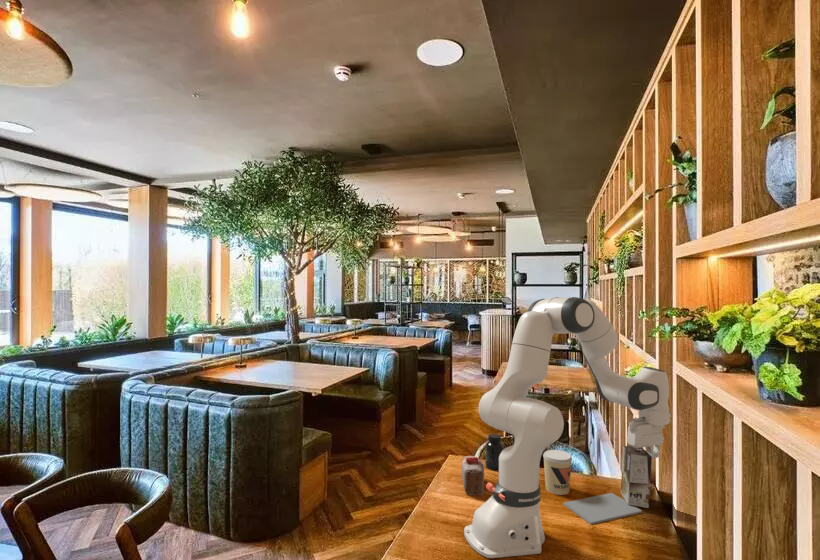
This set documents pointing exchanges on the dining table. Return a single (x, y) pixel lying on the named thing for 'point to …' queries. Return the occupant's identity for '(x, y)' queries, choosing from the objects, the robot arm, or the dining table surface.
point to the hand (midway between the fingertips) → (653, 457)
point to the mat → (601, 508)
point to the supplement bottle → (493, 451)
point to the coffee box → (636, 476)
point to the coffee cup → (557, 471)
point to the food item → (473, 475)
